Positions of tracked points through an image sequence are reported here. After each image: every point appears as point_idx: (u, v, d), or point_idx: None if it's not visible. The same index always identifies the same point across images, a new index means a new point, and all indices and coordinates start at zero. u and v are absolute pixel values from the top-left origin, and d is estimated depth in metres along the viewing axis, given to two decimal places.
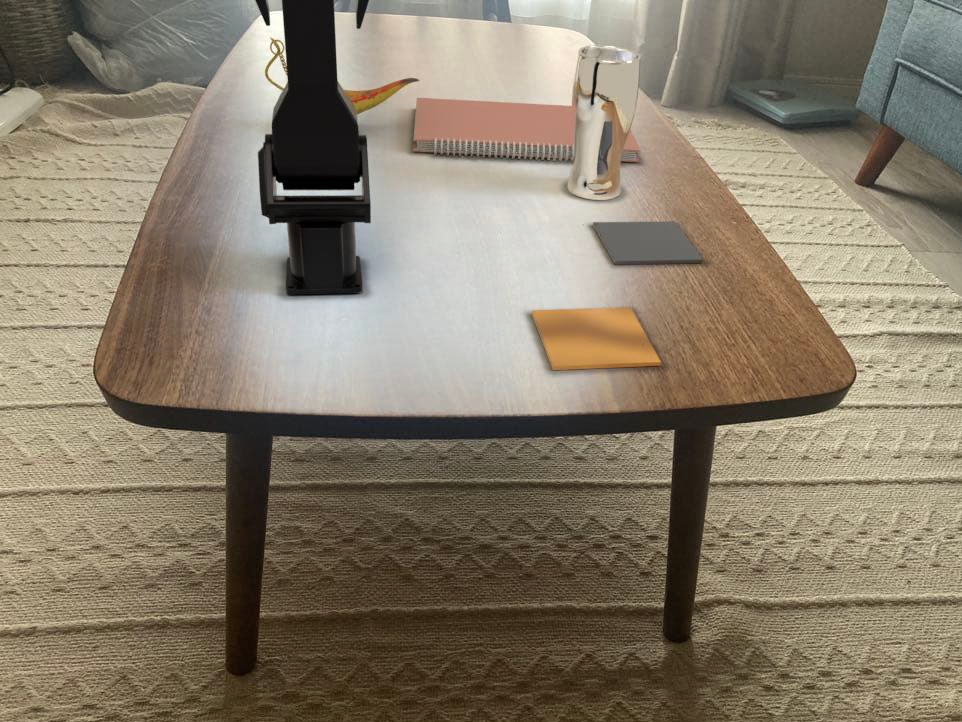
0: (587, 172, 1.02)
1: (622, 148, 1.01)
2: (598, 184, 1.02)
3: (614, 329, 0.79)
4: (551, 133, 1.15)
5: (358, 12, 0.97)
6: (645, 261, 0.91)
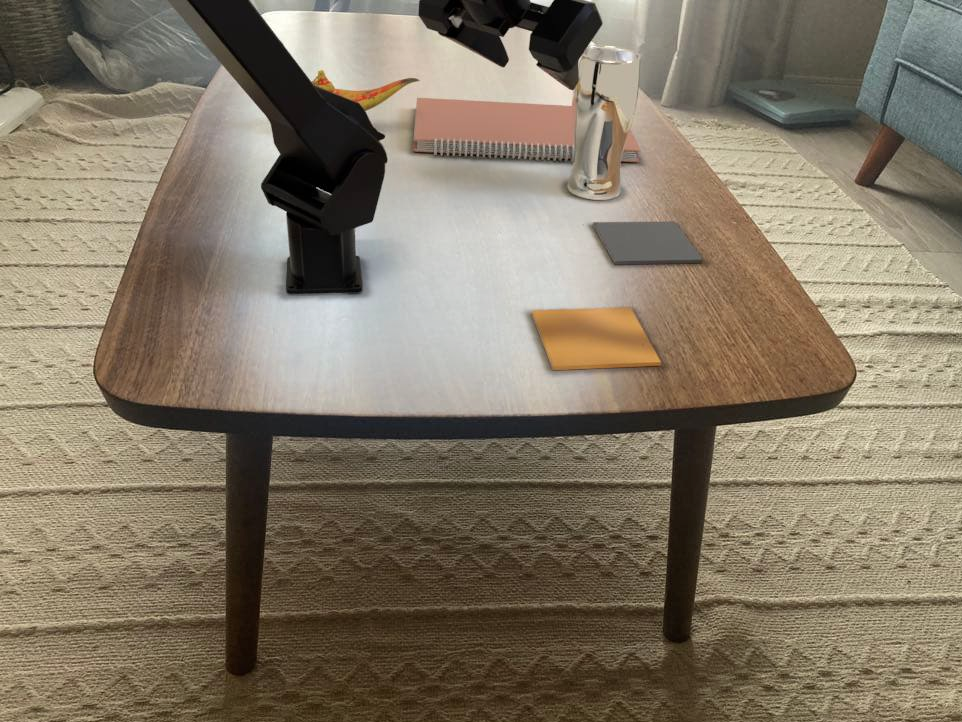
0: (587, 172, 1.02)
1: (622, 148, 1.01)
2: (598, 184, 1.02)
3: (614, 329, 0.79)
4: (551, 133, 1.15)
5: (562, 82, 0.90)
6: (645, 261, 0.91)
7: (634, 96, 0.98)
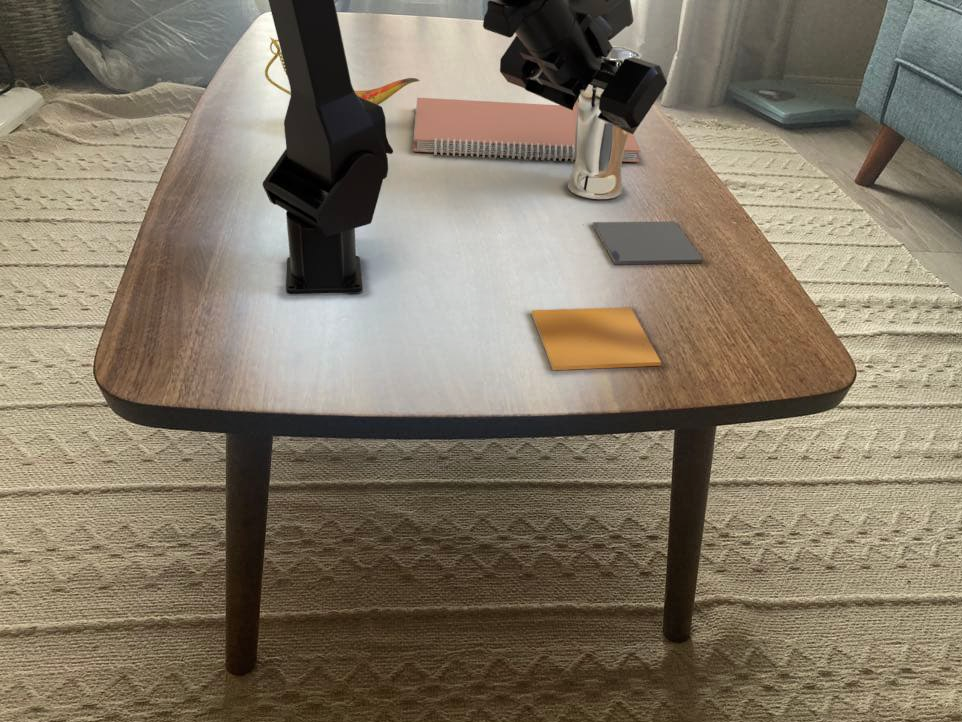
0: (588, 171, 1.02)
1: (623, 147, 1.01)
2: (599, 183, 1.02)
3: (614, 329, 0.79)
4: (551, 133, 1.15)
5: None
6: (645, 261, 0.91)
7: None
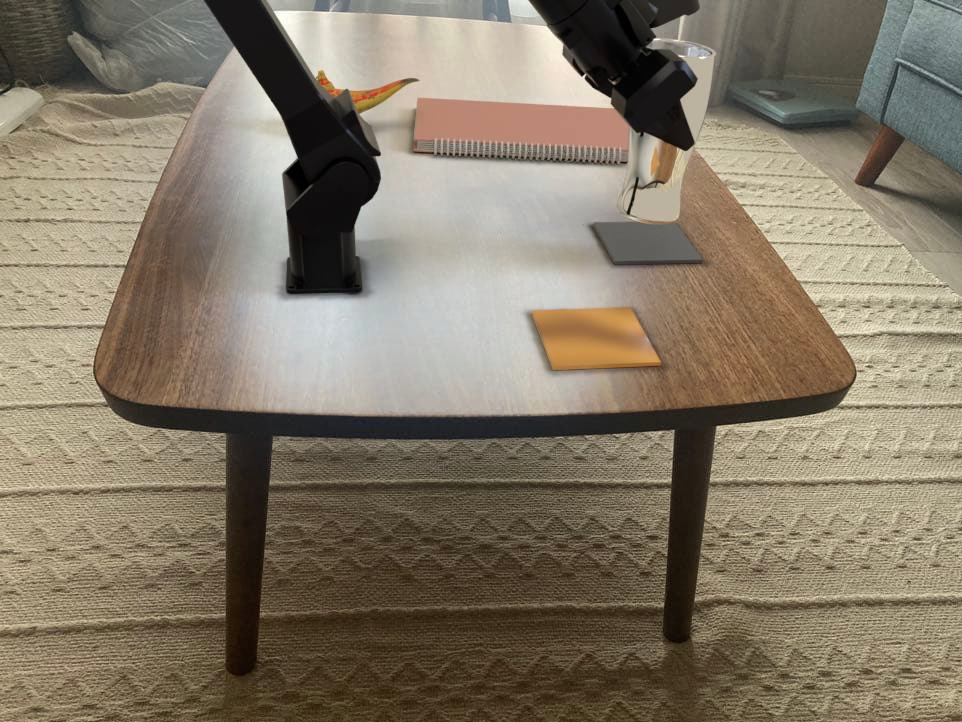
0: (631, 186, 0.85)
1: (677, 166, 0.83)
2: (640, 202, 0.85)
3: (614, 329, 0.79)
4: (551, 133, 1.15)
5: None
6: (645, 261, 0.91)
7: (693, 102, 0.79)
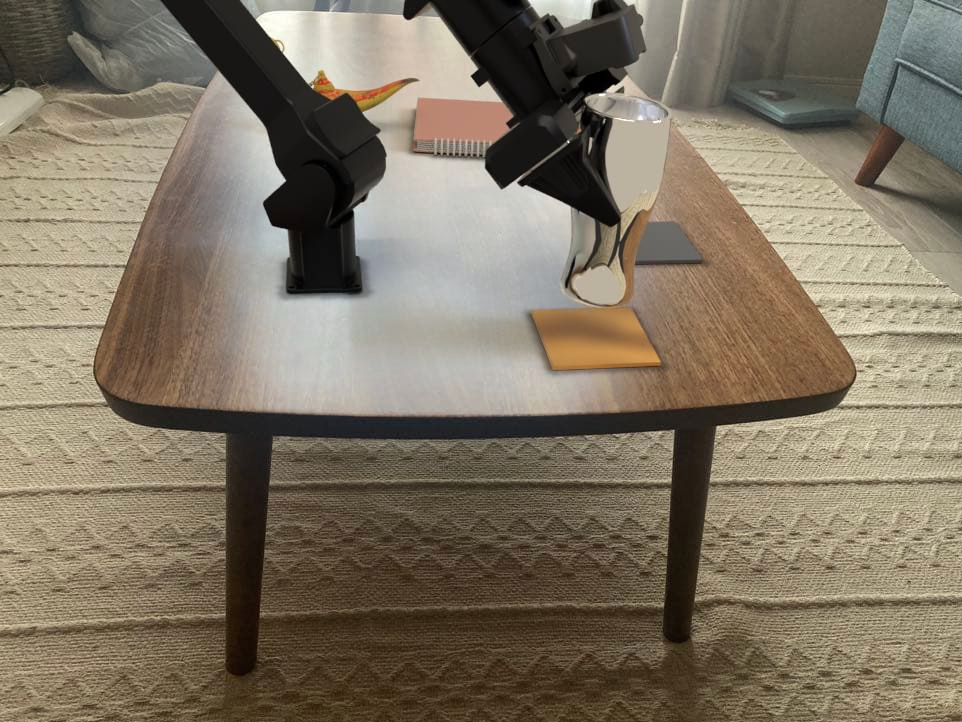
0: (569, 255, 0.74)
1: (608, 243, 0.70)
2: (570, 276, 0.73)
3: (614, 329, 0.79)
4: None
5: None
6: (645, 261, 0.91)
7: (619, 172, 0.66)
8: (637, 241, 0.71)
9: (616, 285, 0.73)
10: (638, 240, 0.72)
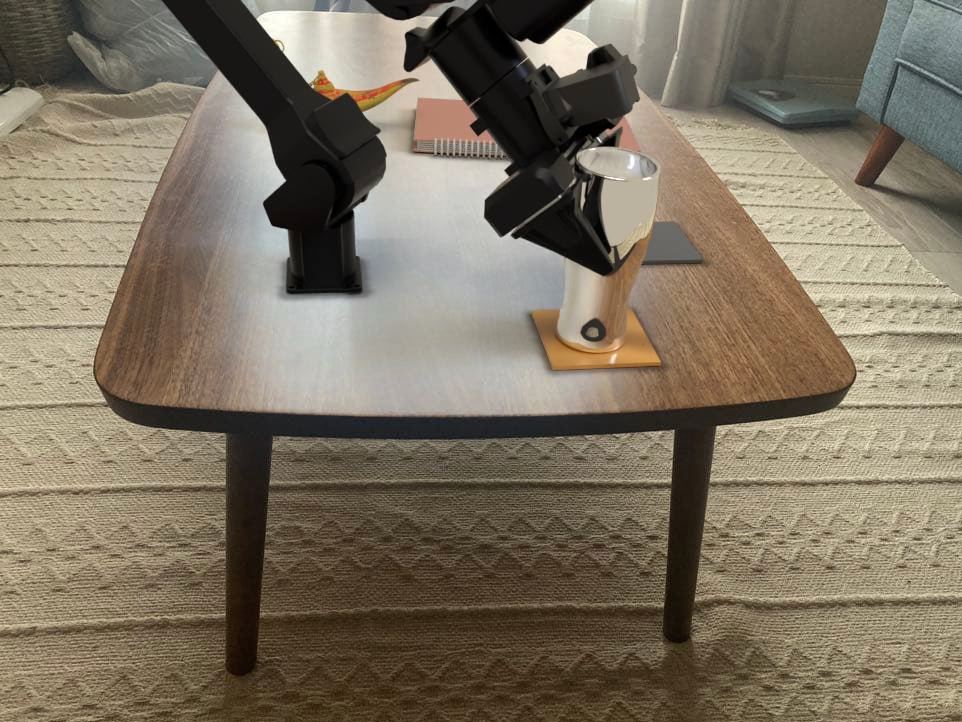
0: (563, 301, 0.76)
1: (600, 292, 0.73)
2: (565, 321, 0.76)
3: None
4: None
5: None
6: (645, 261, 0.91)
7: (609, 227, 0.69)
8: (629, 289, 0.74)
9: (609, 331, 0.75)
10: (630, 288, 0.74)
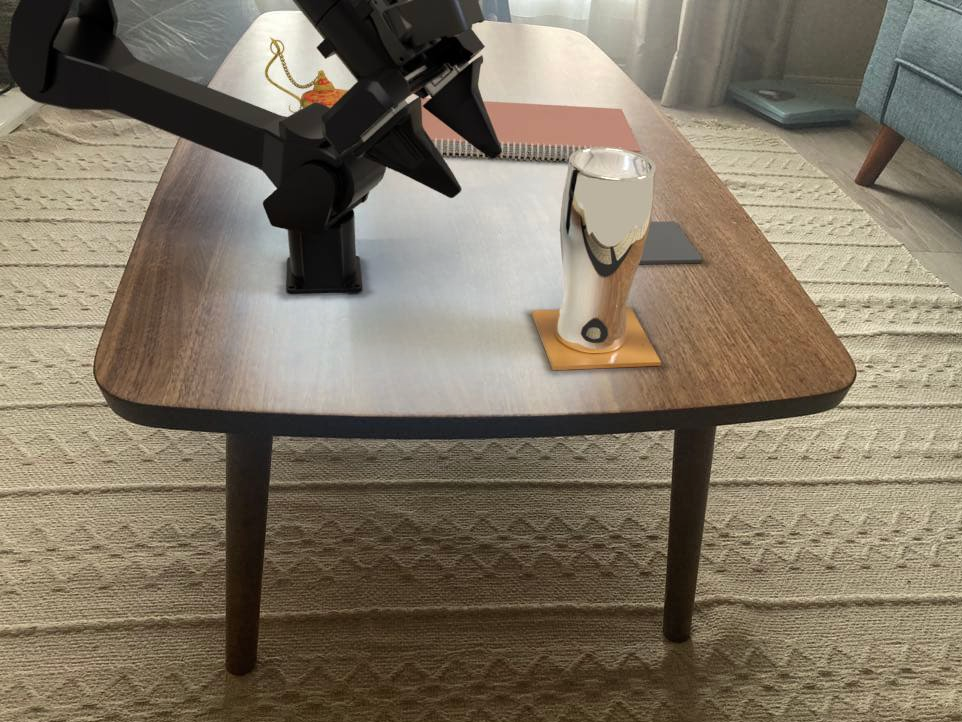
0: (562, 302, 0.76)
1: (598, 292, 0.73)
2: (564, 323, 0.76)
3: None
4: (551, 133, 1.15)
5: None
6: (645, 261, 0.91)
7: (605, 226, 0.69)
8: (627, 289, 0.74)
9: (608, 331, 0.75)
10: (628, 288, 0.74)
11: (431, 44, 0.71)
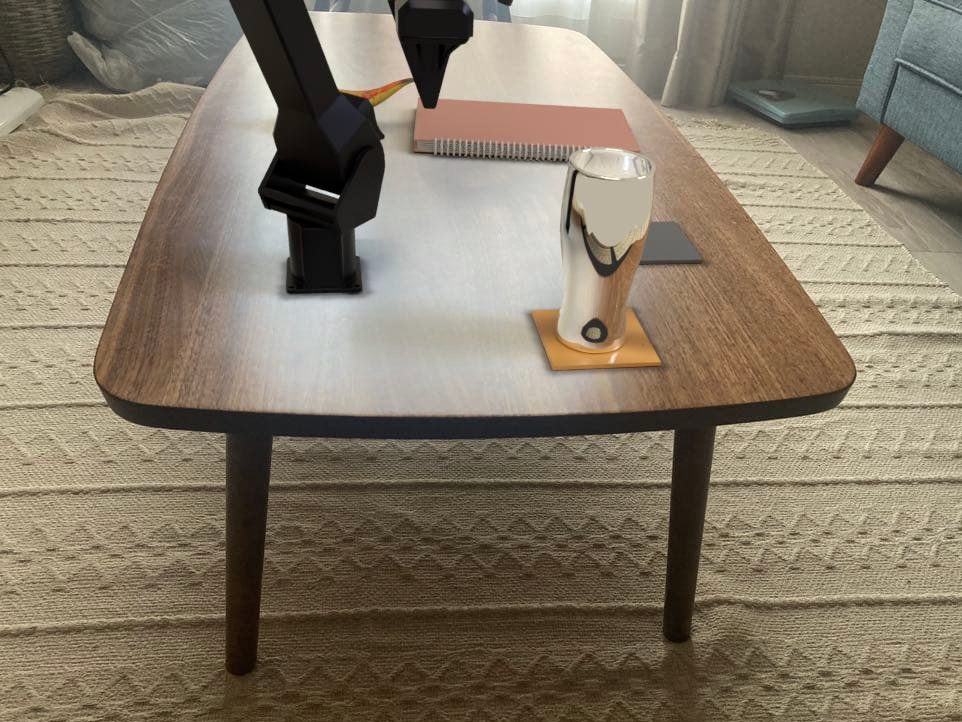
0: (562, 302, 0.76)
1: (598, 292, 0.73)
2: (564, 323, 0.76)
3: None
4: (552, 133, 1.15)
5: None
6: (645, 261, 0.91)
7: (605, 226, 0.69)
8: (627, 289, 0.74)
9: (608, 331, 0.75)
10: (628, 288, 0.74)
11: None
